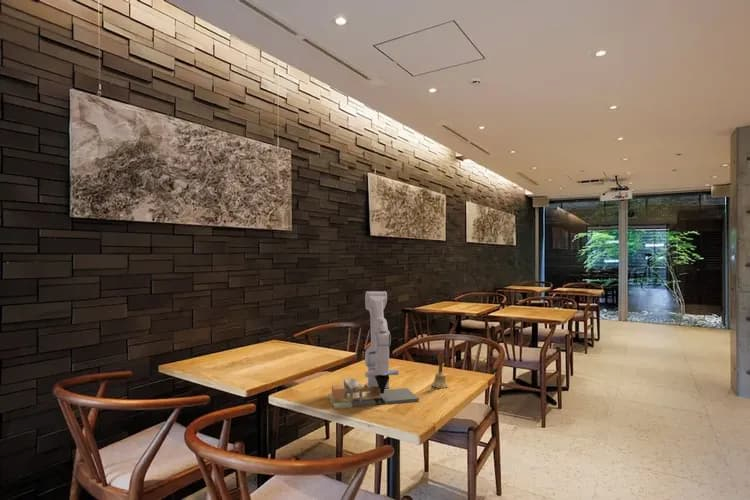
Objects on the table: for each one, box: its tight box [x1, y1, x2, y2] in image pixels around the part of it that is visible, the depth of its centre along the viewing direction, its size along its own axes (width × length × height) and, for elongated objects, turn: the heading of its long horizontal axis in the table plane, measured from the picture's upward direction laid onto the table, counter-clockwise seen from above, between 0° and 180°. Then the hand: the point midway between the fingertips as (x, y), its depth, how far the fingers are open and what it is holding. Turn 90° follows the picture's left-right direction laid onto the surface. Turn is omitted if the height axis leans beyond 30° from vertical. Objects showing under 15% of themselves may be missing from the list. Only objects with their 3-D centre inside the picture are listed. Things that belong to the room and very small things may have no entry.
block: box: [331, 384, 345, 399], centre depth 175 cm, size 4×4×4 cm
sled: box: [330, 385, 381, 402], centre depth 177 cm, size 20×7×4 cm, turn 107°
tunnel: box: [343, 378, 364, 403], centre depth 177 cm, size 5×12×6 cm, turn 17°
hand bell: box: [430, 351, 450, 389], centre depth 200 cm, size 8×8×16 cm
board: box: [327, 387, 420, 410], centre depth 180 cm, size 36×14×1 cm, turn 107°
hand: (381, 392), depth 181 cm, fingers closed
